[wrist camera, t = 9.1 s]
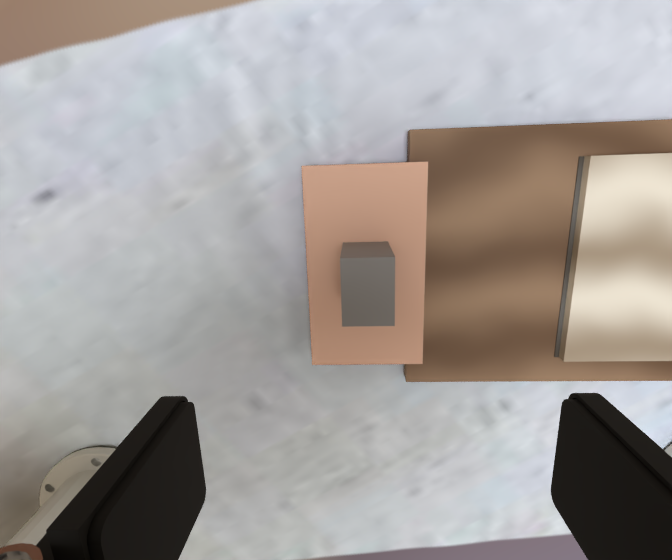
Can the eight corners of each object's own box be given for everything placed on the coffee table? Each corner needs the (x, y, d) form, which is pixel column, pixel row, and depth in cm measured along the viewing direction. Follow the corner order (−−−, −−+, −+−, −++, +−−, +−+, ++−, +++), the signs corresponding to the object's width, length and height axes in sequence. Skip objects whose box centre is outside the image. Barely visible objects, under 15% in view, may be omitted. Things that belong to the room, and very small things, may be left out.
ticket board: (723, 372, 30) (749, 386, 28) (404, 373, 31) (407, 387, 29) (788, 116, 25) (825, 112, 23) (407, 131, 26) (411, 128, 24)
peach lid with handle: (420, 358, 29) (436, 403, 23) (313, 359, 29) (303, 403, 24) (425, 161, 25) (445, 159, 20) (303, 166, 26) (288, 164, 20)
